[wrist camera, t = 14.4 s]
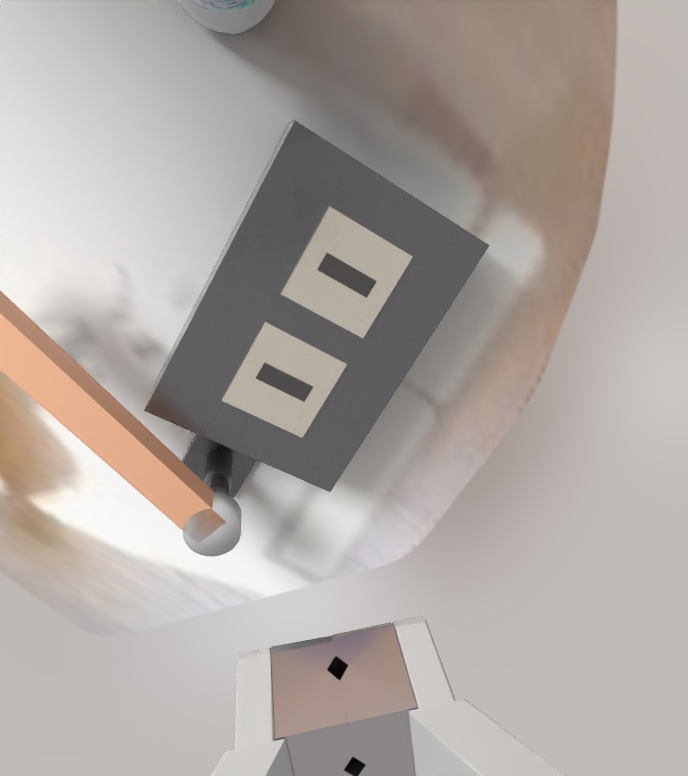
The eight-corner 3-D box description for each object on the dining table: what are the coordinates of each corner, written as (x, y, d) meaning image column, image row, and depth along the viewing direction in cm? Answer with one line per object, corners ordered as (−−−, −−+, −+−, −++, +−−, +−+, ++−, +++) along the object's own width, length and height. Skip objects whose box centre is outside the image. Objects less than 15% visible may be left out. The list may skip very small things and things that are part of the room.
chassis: (157, 377, 45) (143, 412, 39) (288, 123, 39) (295, 120, 34) (321, 452, 49) (330, 494, 43) (459, 232, 44) (491, 246, 38)
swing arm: (252, 514, 41) (252, 536, 39) (211, 544, 42) (209, 567, 39) (-59, 217, 32) (-82, 223, 29) (-107, 261, 32) (-133, 270, 30)
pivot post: (176, 470, 48) (163, 527, 41) (204, 418, 46) (196, 469, 39) (233, 494, 49) (230, 553, 42) (263, 445, 48) (264, 497, 41)
